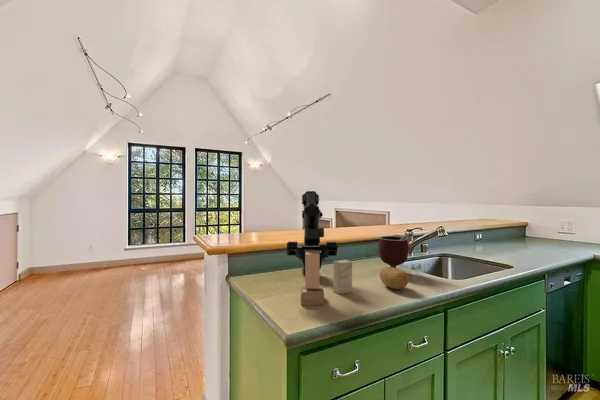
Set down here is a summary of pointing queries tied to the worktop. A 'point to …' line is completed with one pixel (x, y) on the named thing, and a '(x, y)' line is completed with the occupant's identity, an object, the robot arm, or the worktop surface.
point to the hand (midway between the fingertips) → (312, 268)
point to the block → (312, 269)
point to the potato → (394, 277)
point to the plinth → (312, 296)
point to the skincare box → (342, 276)
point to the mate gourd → (393, 250)
